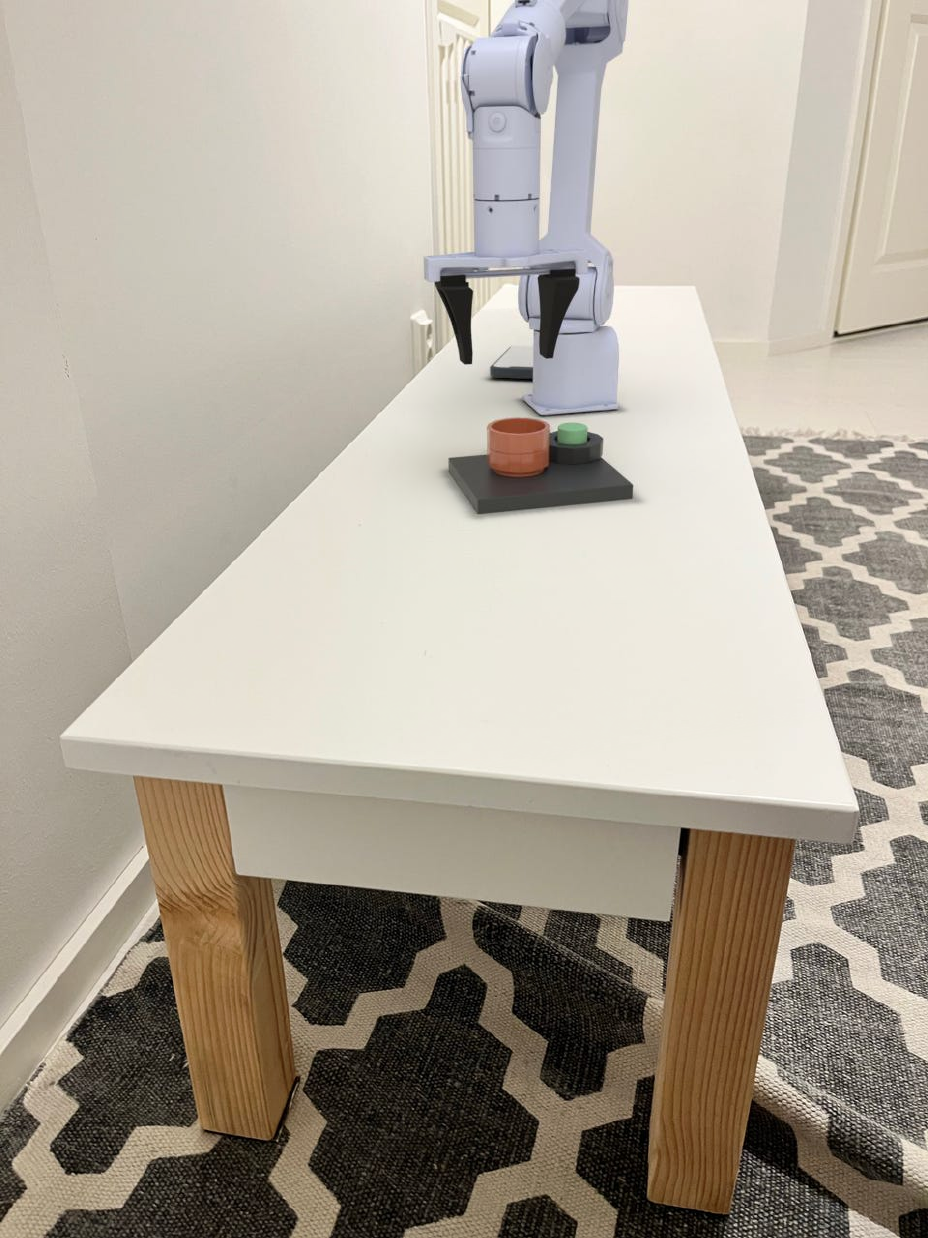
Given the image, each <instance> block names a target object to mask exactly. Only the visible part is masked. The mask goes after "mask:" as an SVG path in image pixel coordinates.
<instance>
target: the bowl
mask: <svg viewBox="0 0 928 1238" xmlns="http://www.w3.org/2000/svg"><path fill="white" fill-rule="evenodd" d="M550 433H551V424H550V423H549V422H547V421H545V420H542V419H539V418H533V417H518V416H517V417H505V418H504V417H503V418H501V419H495V420H493V421H491V422H488V424H487V426H486V455H487V464H488V465H489V467H490V468H492V470H493V471H494V472H495V473H497V474H500V475H504V476H510V477H527V476H533V475H537V474H539V473H542V472H543V471H544V470H545V468H546V467H547V466H548V465H549V456H550Z"/></svg>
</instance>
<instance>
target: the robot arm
mask: <svg viewBox="0 0 928 1238" xmlns="http://www.w3.org/2000/svg"><path fill="white" fill-rule="evenodd" d="M628 13H629V0H514V1H513V2H512V4H511V5H510V6H509V7H508V9H507V10H506V11H505V13H504V15H503V16H502V18H501V19H500V21H498V23H497V24H496V26H495V28H494V30H493V31H492V32H491V34H490V35H489V37H477V38H476V39H474V41H473V44H472V45H467V46H466V47H465V49H464V52H463V55H462V59H461V67H460V76H459V79H460V91H461V92H460V93H461V99H462V103H463V108H464V112H465V122H466V123H465V125H466V127H465V128H466V131H465V132H466V135H467V139H468V140H471V141H472V144H471V145H472V146H471V147H472V150H471V151H472V205H473V207H472V209H473V210H472V211H473V251H468V252H467V251H466V252H456V253H447V254H437V255H435V254H434V255H424V256H423V278H424V280H425V281H426V282H428V283H434V287H435V290H436V292H437V293H438V295H439V297H440V299H441V301H442V304H443V306H444V308H445V311H446V314H447V315H448V319H449V321H450V323H451V327H452V330H453V333H454V337H455V341H456V344H457V349H458V356H459V361H460V362H461V363H462V364H463V365H473V357H474V355H473V338H472V312H473V309H472V308H473V298H474V290H473V289H472V288H471V287H470V283H469V282H470V281H467V279H487V278H505V277H519V282H518V289H517V290H518V291H517V292H518V293H517V300H518V301H517V304H518V311H519V315H520V316H521V317H522V319H523V321H524V322H525V323H528V329H529V330H533V335H532V336H533V337H532V338H533V340H532V342H533V343H532V346H533V379H532V393H529V394H522V395H521V399H522V400H523V402H525V403H526V404H527V405H528V406H530V407H531V408H532V409H533V410H534V412H536V413H537V414H538V415H540V416H549V415H562V414H573V413H584V412H585V413H587V412H599V411H609V410H610V411H611V410H618V409H619V406H620V405H619V404H618V403H617V400H618V384H619V383H618V382H619V381H618V379H619V366H620V365H619V363H620V346H619V345H620V344H619V340H618V336H617V332H616V331H615V328H614V327H613V326H610V325H605V324H606V322H608V321H609V320H610V318H611V314H612V310H613V304H614V303H613V302H614V292H615V281H614V258H613V256H612V253H611V251H610V250H609V249H608V248H607V247H606V246H605V245H604V244H602V243H601V242H600V241H599V240H598V239H597V238H596V237H595V236H593V234H592V233H591V231H592V218H593V217H592V216H593V203H594V191H595V190H594V189H595V177H596V164H597V152H598V151H597V150H598V138H599V127H600V126H599V124H600V123H599V122H600V111H601V98H602V97H601V96H602V87H603V83H604V78H605V74H606V69H607V66H608V63H609V62H611V61H612V60H614V59H616V58H617V57H619V56H620V55H622V53H623V49H624V43H625V41H626V37H627V24H628ZM554 69H555V72H556V75H557V83H556V99H555V100H556V101H555V102H556V103H555V112H554V113H555V115H554V131H553V146H552V147H553V148H552V161H551V162H552V163H551V177H550V178H551V179H550V191H549V193H550V194H549V206H548V207H549V210H548V226H547V233H546V234H545V235H544V236H543V237H541V238H540V217H541V216H540V215H541V213H540V211H541V210H540V209H541V208H540V204H541V201H540V200H541V198H540V197H541V148H542V147H541V145H542V144H541V139H542V132H541V131H542V116H543V115H544V114H545V113H547V111H548V107H549V103H550V97H551V88H552V85H553V79H554ZM589 264H593V265H594V266H589ZM489 268H490V269H491V268H492V270H489ZM496 268H497V269H496ZM498 268H499V269H498ZM501 268H502V269H501ZM503 268H506V269H503ZM508 268H509V269H508ZM511 268H512V269H511ZM493 269H494V270H493Z"/></svg>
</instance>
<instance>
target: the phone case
mask: <svg viewBox="0 0 928 1238" xmlns="http://www.w3.org/2000/svg"><path fill="white" fill-rule="evenodd" d="M489 367H490V368H489V376H490V377H492V378H496V379H522V380H523V379H524V380H525V379H526V380H533V345H512V346H510V347H508V348H507V349H506V350H505V352H503V353H502V354H501V356H500V357H498V358H497V359H496V360H495V361H494V363H493V364H492V365H490V366H489Z"/></svg>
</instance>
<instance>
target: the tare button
mask: <svg viewBox="0 0 928 1238" xmlns="http://www.w3.org/2000/svg"><path fill="white" fill-rule="evenodd" d="M557 431H558V433H557V442H559V443H563V444H583V443H586V442H587V432H588V425H586V424H585V423H581V422H564V423H560V424H558V425H557Z"/></svg>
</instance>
